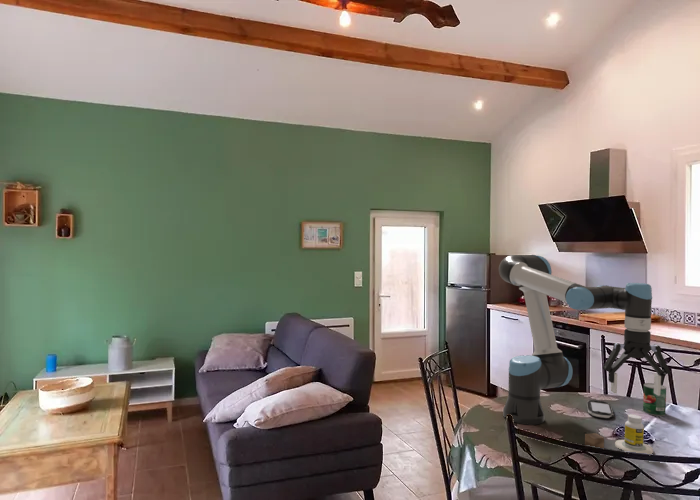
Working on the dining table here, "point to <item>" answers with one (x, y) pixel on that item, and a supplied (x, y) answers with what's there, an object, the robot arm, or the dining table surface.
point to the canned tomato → (654, 400)
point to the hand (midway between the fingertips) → (635, 393)
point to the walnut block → (594, 440)
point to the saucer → (644, 449)
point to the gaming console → (599, 409)
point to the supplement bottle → (634, 431)
